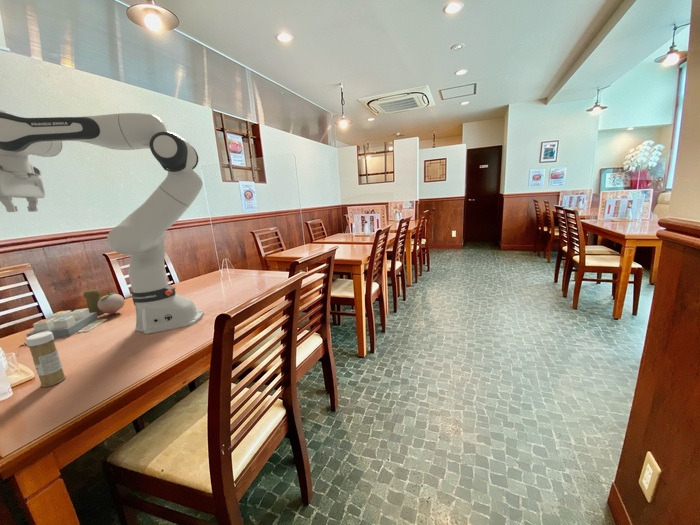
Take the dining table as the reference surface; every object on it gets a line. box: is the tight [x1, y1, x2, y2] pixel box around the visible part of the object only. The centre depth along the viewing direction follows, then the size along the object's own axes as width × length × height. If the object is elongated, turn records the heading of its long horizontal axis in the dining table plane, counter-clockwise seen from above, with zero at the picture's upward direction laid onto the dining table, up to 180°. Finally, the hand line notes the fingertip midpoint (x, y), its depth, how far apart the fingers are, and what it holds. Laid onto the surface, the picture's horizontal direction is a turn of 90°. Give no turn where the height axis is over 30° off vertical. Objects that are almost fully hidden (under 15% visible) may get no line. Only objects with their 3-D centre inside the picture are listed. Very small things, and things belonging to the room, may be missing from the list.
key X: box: [53, 316, 76, 329], centre depth 101 cm, size 4×4×4 cm
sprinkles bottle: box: [25, 331, 67, 388], centre depth 70 cm, size 5×5×14 cm
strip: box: [76, 318, 108, 334], centre depth 107 cm, size 4×11×1 cm, turn 14°
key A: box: [50, 309, 72, 320], centre depth 107 cm, size 4×4×4 cm
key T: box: [32, 318, 56, 331], centre depth 100 cm, size 4×4×4 cm
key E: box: [69, 308, 90, 319], centre depth 109 cm, size 4×4×4 cm
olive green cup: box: [83, 288, 104, 317], centre depth 119 cm, size 6×6×11 cm
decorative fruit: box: [97, 291, 126, 315], centre depth 118 cm, size 9×8×10 cm
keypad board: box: [26, 312, 99, 339], centre depth 105 cm, size 12×16×3 cm
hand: (23, 211), depth 90 cm, fingers open, 8 cm apart
